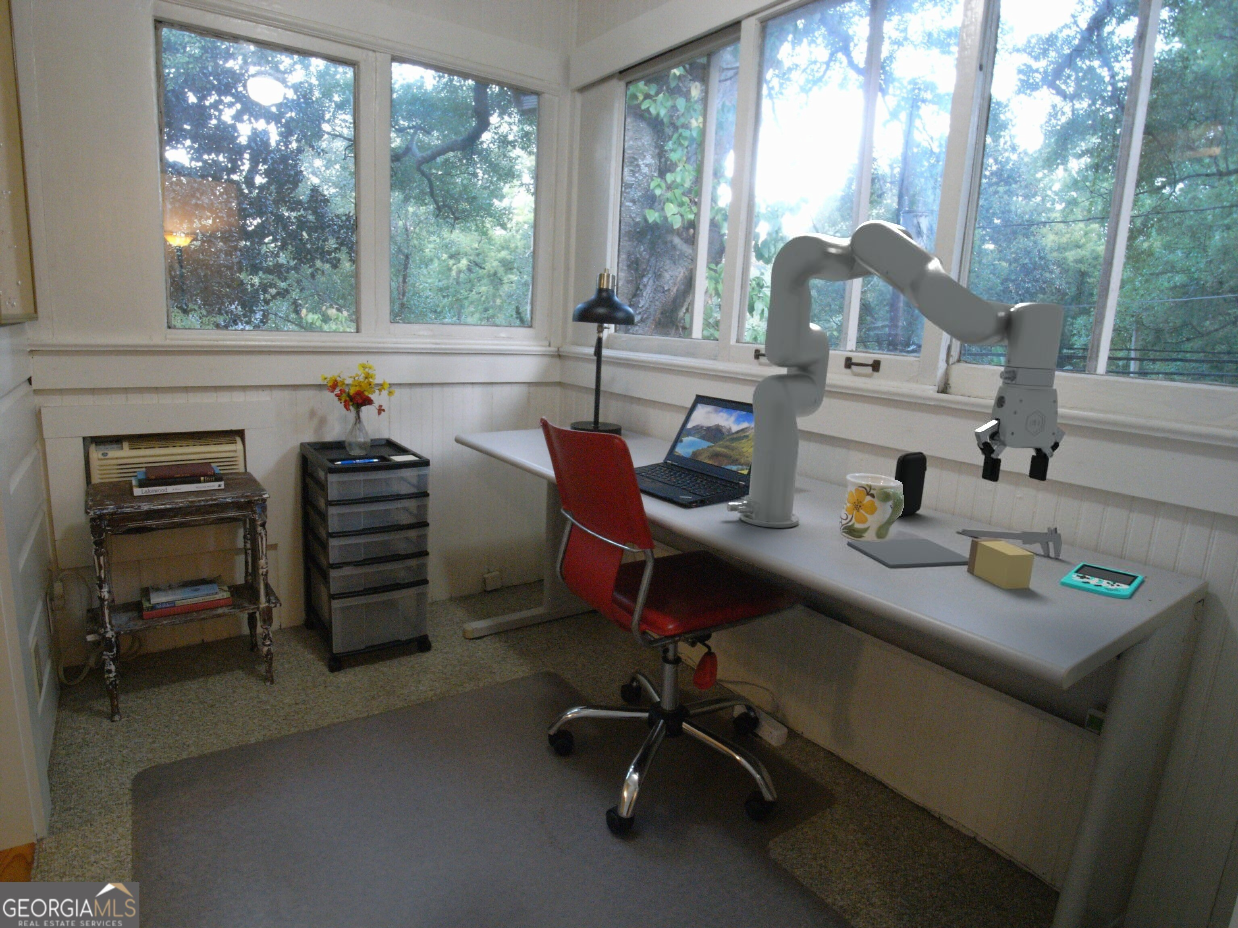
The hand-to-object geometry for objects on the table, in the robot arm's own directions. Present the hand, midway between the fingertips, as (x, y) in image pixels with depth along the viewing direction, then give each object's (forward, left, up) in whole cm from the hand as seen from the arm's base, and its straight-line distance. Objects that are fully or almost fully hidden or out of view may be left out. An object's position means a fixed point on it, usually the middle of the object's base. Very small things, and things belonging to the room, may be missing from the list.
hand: (1013, 479), depth 126 cm
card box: (0, 0, -18) cm, 18 cm away
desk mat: (-7, +15, -18) cm, 24 cm away
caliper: (+18, +18, -18) cm, 31 cm away
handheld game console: (+19, -3, -19) cm, 27 cm away
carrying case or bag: (+12, +42, -18) cm, 47 cm away
